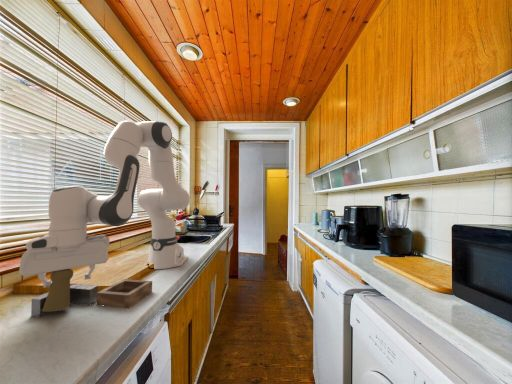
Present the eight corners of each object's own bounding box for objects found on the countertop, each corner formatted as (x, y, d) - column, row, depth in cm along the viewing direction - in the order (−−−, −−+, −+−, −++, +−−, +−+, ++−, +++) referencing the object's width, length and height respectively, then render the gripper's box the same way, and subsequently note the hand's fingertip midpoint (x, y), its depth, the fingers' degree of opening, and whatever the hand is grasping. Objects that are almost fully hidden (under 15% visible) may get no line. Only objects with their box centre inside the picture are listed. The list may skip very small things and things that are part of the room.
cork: (55, 311, 60) (62, 270, 62) (36, 311, 60) (43, 270, 63) (75, 305, 66) (81, 267, 68) (57, 304, 66) (63, 267, 69)
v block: (36, 307, 67) (36, 290, 67) (97, 293, 76) (98, 279, 76) (29, 319, 60) (29, 301, 60) (97, 303, 69) (98, 287, 70)
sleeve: (123, 290, 80) (123, 279, 80) (151, 292, 78) (152, 281, 78) (96, 305, 68) (96, 292, 68) (128, 308, 66) (128, 295, 67)
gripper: (109, 232, 74) (109, 272, 74) (24, 240, 62) (24, 287, 62) (109, 235, 69) (109, 278, 69) (17, 244, 57) (17, 296, 57)
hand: (68, 282), depth 66 cm, fingers open, 8 cm apart
